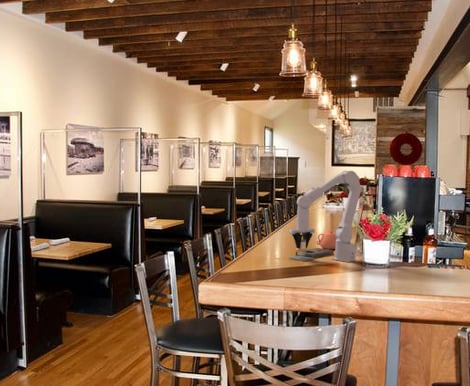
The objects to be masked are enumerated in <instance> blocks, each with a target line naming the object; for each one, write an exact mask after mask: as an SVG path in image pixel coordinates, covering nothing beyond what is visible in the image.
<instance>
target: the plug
mask: <svg viewBox="0 0 470 386" xmlns="http://www.w3.org/2000/svg"><path fill="white" fill-rule="evenodd" d="M307 250H308V247H307V248H306V239H303V238H302V239H301V247H300V248H296V247H295V252H297V255H306V251H307Z"/></svg>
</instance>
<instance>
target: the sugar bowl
mask: <svg viewBox="0 0 470 386" xmlns="http://www.w3.org/2000/svg"><path fill="white" fill-rule="evenodd" d="M320 236H321V237H320ZM317 240H318V241H316V245H317V246H320V248H322V249H328V250H334V249H336V240H337V238H336V236H335V232H334V230H328V232H324V233H319V234H318V235H317Z"/></svg>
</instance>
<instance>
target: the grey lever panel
mask: <svg viewBox="0 0 470 386" xmlns="http://www.w3.org/2000/svg"><path fill="white" fill-rule="evenodd" d="M331 254H332V255H335V250H334V249H325V248H322V247H314V248H309V249H308V248H307V251H306V255H297V251H295V256H303V257H309V258H314V259H315V258H321V257H326V255H327V256H331Z"/></svg>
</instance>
